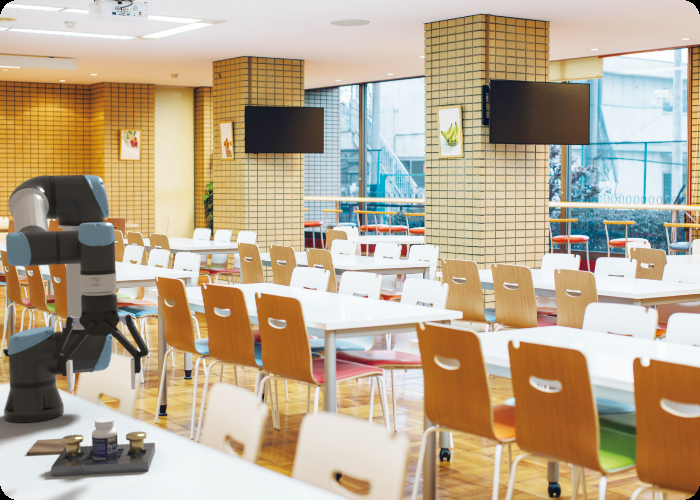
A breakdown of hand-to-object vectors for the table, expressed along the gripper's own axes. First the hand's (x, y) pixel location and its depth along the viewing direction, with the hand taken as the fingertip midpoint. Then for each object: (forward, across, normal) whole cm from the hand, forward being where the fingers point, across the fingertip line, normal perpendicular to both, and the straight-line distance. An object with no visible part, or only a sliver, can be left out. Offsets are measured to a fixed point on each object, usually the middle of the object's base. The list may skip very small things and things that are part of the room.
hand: (102, 389), depth 184 cm
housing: (+17, 0, 0) cm, 17 cm away
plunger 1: (+14, -7, 0) cm, 16 cm away
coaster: (+17, -14, +14) cm, 26 cm away
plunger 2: (+14, +7, 0) cm, 16 cm away
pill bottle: (+17, 0, 0) cm, 17 cm away
